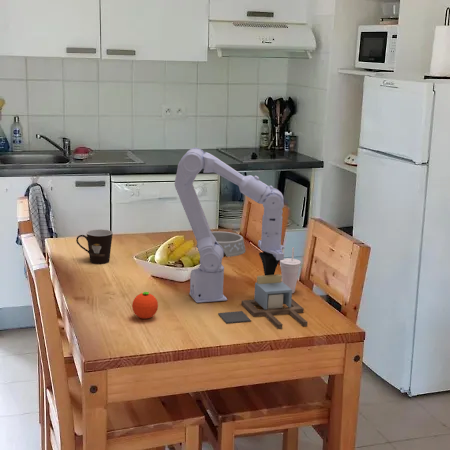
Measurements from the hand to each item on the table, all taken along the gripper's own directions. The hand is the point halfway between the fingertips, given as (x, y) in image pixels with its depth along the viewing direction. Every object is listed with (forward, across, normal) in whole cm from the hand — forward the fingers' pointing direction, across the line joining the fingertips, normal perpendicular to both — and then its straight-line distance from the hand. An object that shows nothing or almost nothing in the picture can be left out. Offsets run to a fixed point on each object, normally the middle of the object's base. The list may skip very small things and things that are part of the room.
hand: (269, 277), depth 205 cm
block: (+8, -6, +1) cm, 10 cm away
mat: (+7, -10, +14) cm, 19 cm away
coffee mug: (+8, +50, +42) cm, 66 cm away
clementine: (+8, -4, +38) cm, 39 cm away
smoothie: (+8, +6, -10) cm, 14 cm away
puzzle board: (+7, -11, +1) cm, 13 cm away
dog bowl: (+8, +55, -4) cm, 55 cm away
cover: (+6, -6, +1) cm, 8 cm away
